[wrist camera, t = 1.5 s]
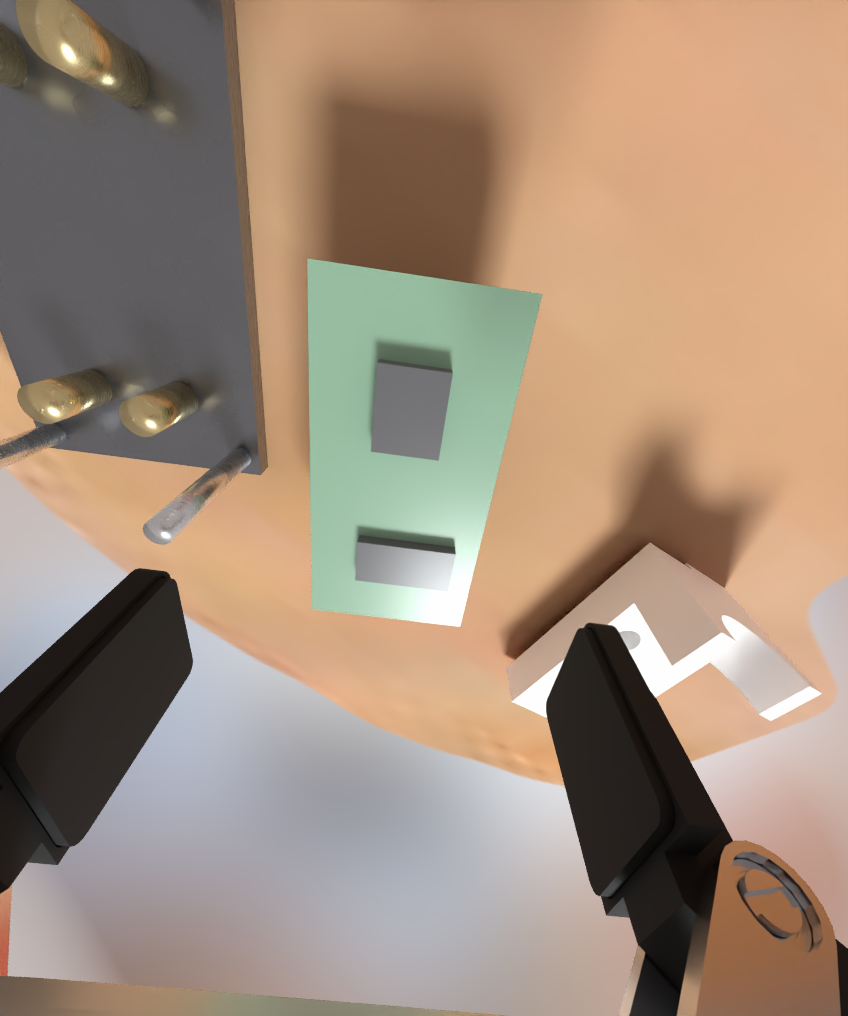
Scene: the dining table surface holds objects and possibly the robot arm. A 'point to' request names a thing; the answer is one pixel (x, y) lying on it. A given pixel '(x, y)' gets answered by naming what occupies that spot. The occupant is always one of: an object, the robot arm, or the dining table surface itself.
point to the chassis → (129, 239)
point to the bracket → (669, 637)
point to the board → (406, 434)
